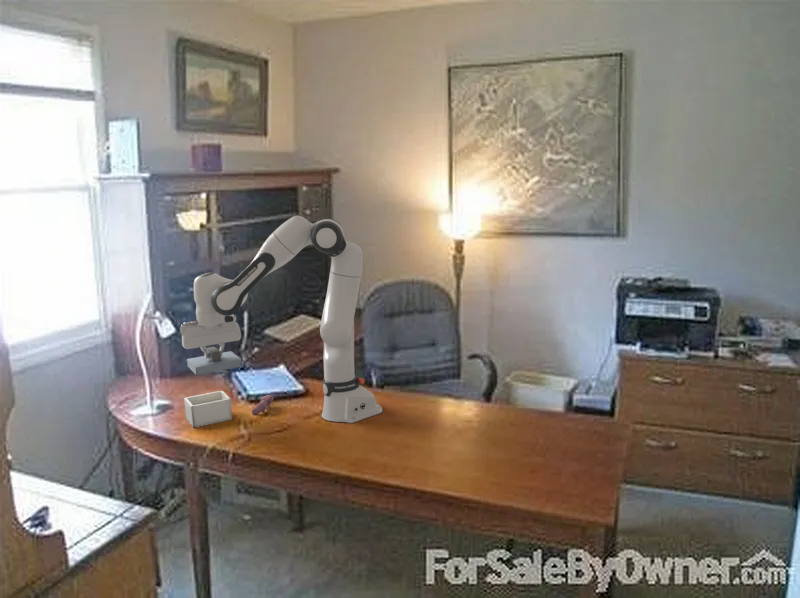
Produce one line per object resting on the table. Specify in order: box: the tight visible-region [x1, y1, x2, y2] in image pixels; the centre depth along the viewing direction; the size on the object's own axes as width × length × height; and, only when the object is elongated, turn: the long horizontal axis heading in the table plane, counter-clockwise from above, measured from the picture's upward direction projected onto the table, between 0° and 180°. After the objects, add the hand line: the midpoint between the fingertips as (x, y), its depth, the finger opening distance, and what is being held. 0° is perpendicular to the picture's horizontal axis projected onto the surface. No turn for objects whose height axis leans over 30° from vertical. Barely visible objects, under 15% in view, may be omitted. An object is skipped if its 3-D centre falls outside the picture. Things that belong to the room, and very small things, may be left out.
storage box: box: [183, 390, 233, 429], centre depth 233 cm, size 14×11×8 cm
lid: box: [186, 346, 243, 376], centre depth 227 cm, size 16×13×6 cm
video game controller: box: [251, 394, 275, 415], centre depth 241 cm, size 10×5×7 cm, turn 169°
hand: (213, 356), depth 227 cm, fingers closed on lid, 3 cm apart
